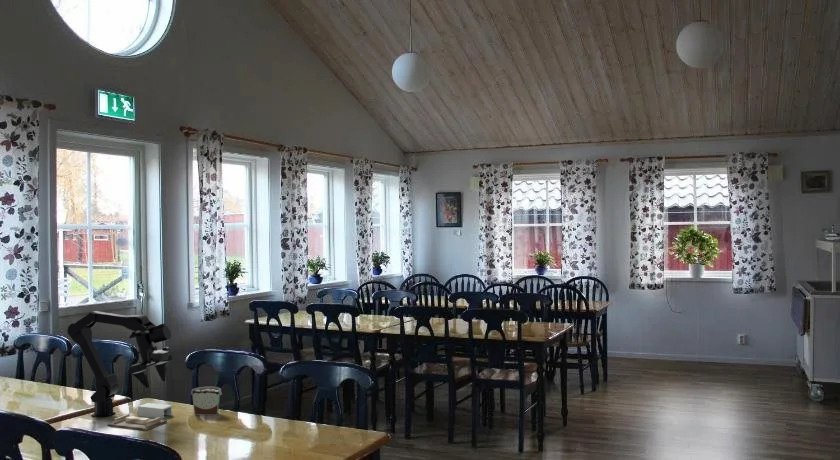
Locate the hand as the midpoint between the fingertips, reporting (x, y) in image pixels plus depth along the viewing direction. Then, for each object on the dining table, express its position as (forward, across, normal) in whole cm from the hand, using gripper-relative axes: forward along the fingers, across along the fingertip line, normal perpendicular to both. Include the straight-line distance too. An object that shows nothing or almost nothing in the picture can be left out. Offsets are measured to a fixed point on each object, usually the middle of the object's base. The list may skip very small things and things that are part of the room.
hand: (156, 384), depth 270 cm
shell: (+12, 0, +5) cm, 13 cm away
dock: (+12, -12, +2) cm, 17 cm away
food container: (+17, +10, -13) cm, 24 cm away
